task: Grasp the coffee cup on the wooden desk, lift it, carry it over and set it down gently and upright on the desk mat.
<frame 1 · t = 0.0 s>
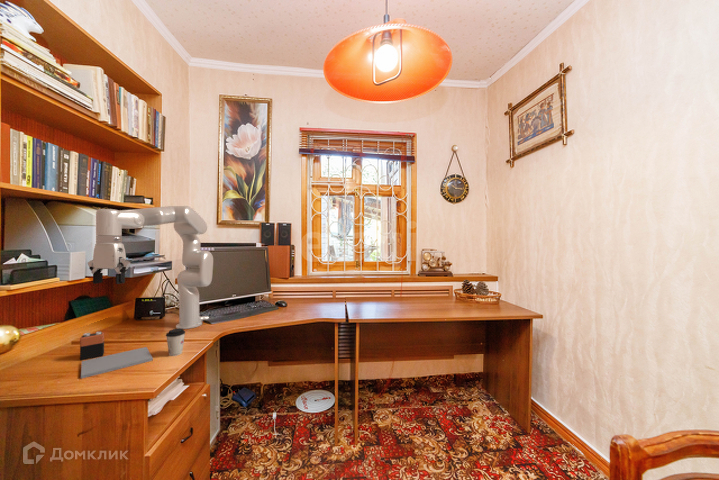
hand: (109, 283, 107), 31 cm above the table, tool pointing down, fingers open, 9 cm apart
desk mat: (117, 362, 106), on the table
battery: (92, 357, 111), on the table
coffee cup: (175, 354, 114), on the table
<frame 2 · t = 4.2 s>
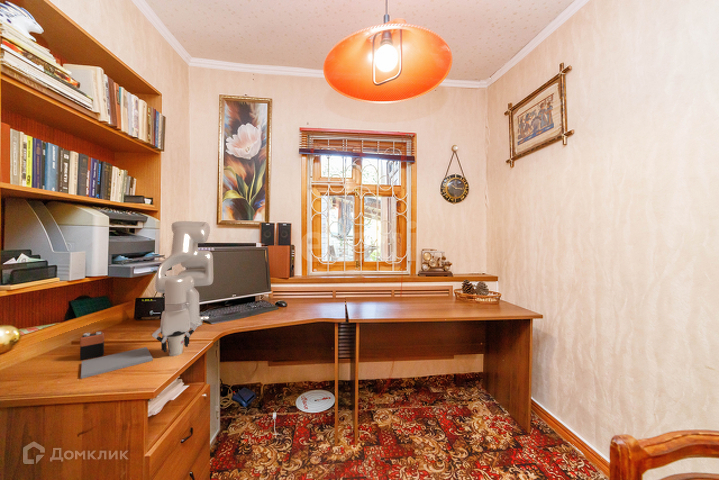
hand: (175, 348, 114), 2 cm above the table, tool pointing down, fingers closed on coffee cup, 7 cm apart
coffee cup: (175, 354, 114), on the table, touching gripper
everything else where it was.
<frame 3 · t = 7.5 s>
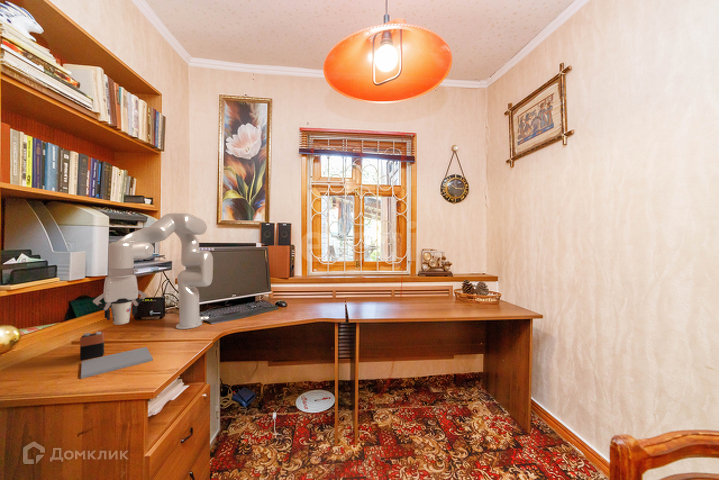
hand: (121, 317, 107), 18 cm above the table, tool pointing down, fingers closed on coffee cup, 7 cm apart
coffee cup: (121, 323, 107), point 15 cm above the table, touching gripper
everything else where it was.
when the fingers open (4 cm above the table, at t = 11.2 s): coffee cup stays where it is, resting on desk mat.
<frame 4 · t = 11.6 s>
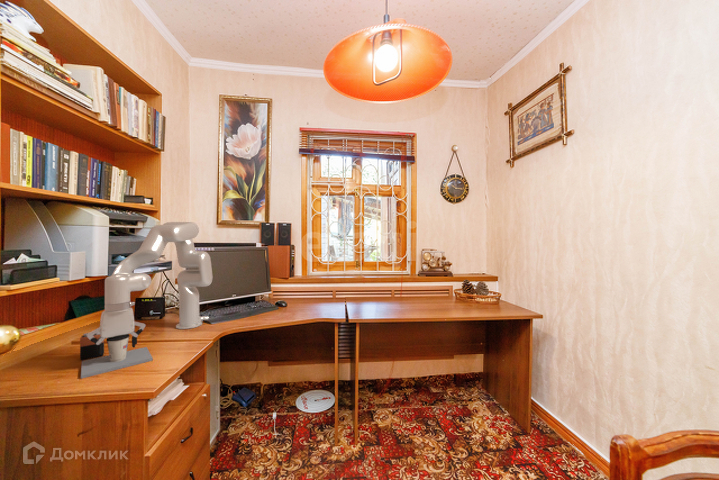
hand: (117, 350, 106), 5 cm above the table, tool pointing down, fingers open, 9 cm apart
coffee cup: (118, 359, 107), point 1 cm above the table, touching desk mat
everything else where it was.
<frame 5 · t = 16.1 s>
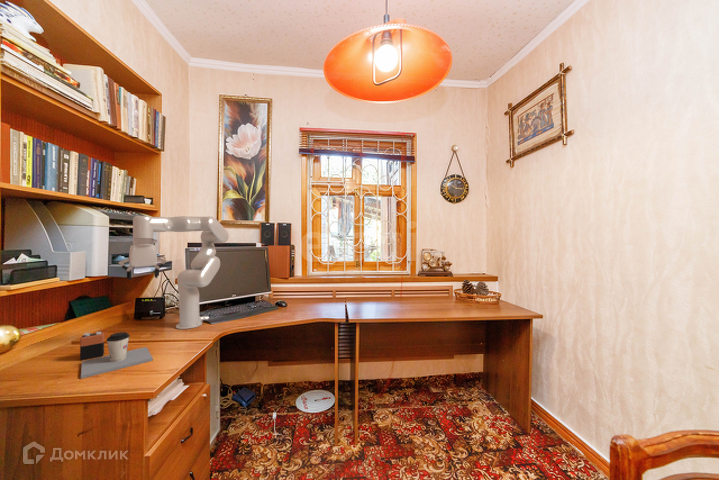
hand: (143, 278, 126), 30 cm above the table, tool pointing down, fingers open, 9 cm apart
nothing on the table moved.
at the end: coffee cup inside the target area on the desk mat (0.2 cm from its centre), point 0.8 cm above the desk mat's base; coffee cup tilted 0°; the gripper is holding nothing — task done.
